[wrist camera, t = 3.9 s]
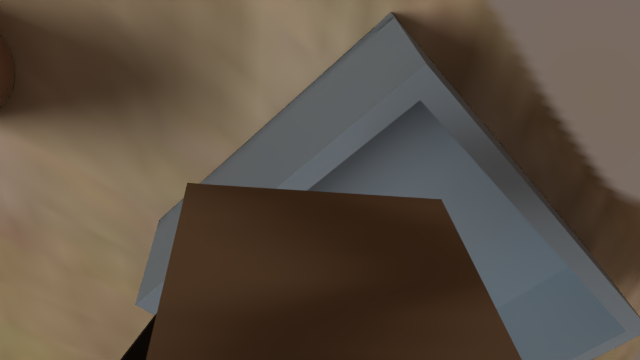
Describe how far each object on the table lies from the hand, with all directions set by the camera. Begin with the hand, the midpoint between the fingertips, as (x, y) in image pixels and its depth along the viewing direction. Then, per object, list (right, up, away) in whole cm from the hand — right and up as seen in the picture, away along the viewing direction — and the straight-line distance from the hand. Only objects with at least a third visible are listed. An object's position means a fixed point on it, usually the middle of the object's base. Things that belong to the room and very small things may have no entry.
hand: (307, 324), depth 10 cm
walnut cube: (0, +1, +1) cm, 1 cm away
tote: (+4, 0, +14) cm, 15 cm away
